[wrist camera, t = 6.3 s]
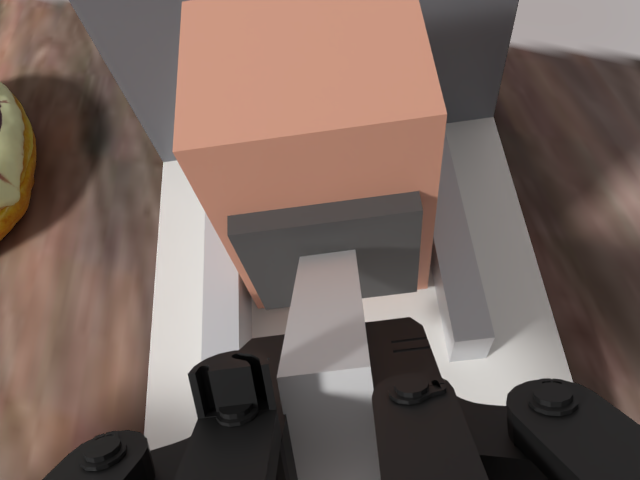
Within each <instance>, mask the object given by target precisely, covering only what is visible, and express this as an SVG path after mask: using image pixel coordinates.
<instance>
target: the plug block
mask: <svg viewBox="0 0 640 480" xmlns="http://www.w3.org/2000/svg"><path fill="white" fill-rule="evenodd" d="M446 120H447V111H446V107H445V103H444V99H443V95H442V91H441V87H440V83H439V79H438V75H437V71H436V67H435V63H434V59H433V55H432V51H431V47H430V43H429V39H428V35H427V31H426V27H425V23H424V19H423V15H422V11H421V7H420V3H419V0H189V1H183V2H182V6H181V22H180V39H179V55H178V71H177V87H176V103H175V119H174V135H173V151H172V152H173V154H174V156H175V158H176V159H177V161H178V163H179V165H180V167H181V169H182V170H183V172H184V174H185V176H186V178H187V180H188V181H189V183H190V185H191V187H192V189H193V191H194V192H195V194H196V196H197V198H198V200H199V202H200V203H201V205H202V207H203V209H204V211H205V212H206V214H207V216H208V218H209V220H210V222H211V223H212V225H213V227H214V229H215V231H216V233H217V234H218V236H219V238H220V240H221V242H222V244H223V245H224V247H225V249H226V251H227V253H228V255H229V256H230V258H231V260H232V262H233V264H234V265H235V267H236V269H237V271H238V273H239V275H240V276H241V278H242V280H243V282H244V284H245V286H246V287H247V289H248V291H249V293H250V295H251V297H252V298H253V300H254V302H255V304H256V306H257V308H258V309H260V308H265V309H266V310H269V309H278V308H286V307H290V305H291V300H292V294H293V289H294V284H295V279H296V273H297V268H298V263H299V258H300V257H302V256H309V255H317V254H324V253H332V252H339V251H347V250H354V249H355V251H356V259H357V266H358V274H359V281H360V288H361V296H362V298H370V297H378V296H387V295H395V294H403V293H412V292H417V290H419V289H427V288H428V279H429V270H430V262H431V253H432V244H433V235H434V226H435V217H436V209H437V200H438V191H439V182H440V173H441V164H442V156H443V147H444V138H445V129H446Z"/></svg>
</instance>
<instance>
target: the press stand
mask: <svg viewBox="0 0 640 480" xmlns="http://www.w3.org/2000/svg"><path fill="white" fill-rule="evenodd" d="M69 1H70V3H71V5H72V7H73V8H74V10H75V12H76V13H77V15H78V17H79V19H80V20H81V22H82V24H83V25H84V27H85V29H86V31H87V32H88V34H89V36H90V37H91V39H92V41H93V42H94V44H95V46H96V48H97V49H98V51H99V53H100V54H101V56H102V58H103V60H104V61H105V63H106V65H107V66H108V68H109V70H110V72H111V73H112V75H113V77H114V78H115V80H116V82H117V84H118V85H119V87H120V89H121V90H122V92H123V94H124V96H125V97H126V99H127V101H128V102H129V104H130V106H131V108H132V109H133V111H134V113H135V114H136V116H137V118H138V120H139V121H140V123H141V125H142V126H143V128H144V130H145V132H146V133H147V135H148V137H149V138H150V140H151V142H152V144H153V145H154V147H155V149H156V150H157V152H158V154H159V156H160V157H161V159H162V161H163V175H162V189H161V203H160V217H159V231H158V245H157V259H156V273H155V287H154V301H153V315H152V329H151V343H150V357H149V371H148V385H147V399H146V414H145V428H144V436H145V437H146V438H147V440H148V444H149V448H150V451H151V450H154V449H157V448H160V447H164V446H167V445H170V444H173V443H176V442H179V441H181V440H184V439H187V438H189V437H191V435H192V432H193V430H194V427H195V425H196V422H197V420H198V417H197V413H196V409H195V404H194V400H193V396H192V391H191V387H190V382H189V378H188V373H189V372H190V370H191V369H192V368H193V367H194V366H195V365H197V364H198V363H200V362H201V361H203V360H205V359H207V358H209V357H212V356H214V355H217V354H219V353H224V352H229V351H234V350H240V349H241V348H242V347H243V346H244V345H245V344H246V343H247V342H248V341H249V340H251V339H252V338H259V337H267V336H275V335H283V334H285V331H286V326H287V321H288V315H289V310H290V307H286V308H278V309H269V310H266V309H265V308H260V309H258V308H257V306H256V304H255V302H254V300H253V298H252V297H251V295H250V293H249V291H248V289H247V287H246V286H245V284H244V282H243V280H242V278H241V276H240V275H239V273H238V271H237V269H236V267H235V265H234V264H233V262H232V260H231V258H230V256H229V255H228V253H227V251H226V249H225V247H224V245H223V244H222V242H221V240H220V238H219V236H218V234H217V233H216V231H215V229H214V227H213V225H212V223H211V222H210V220H209V218H208V216H207V214H206V212H205V211H204V209H203V207H202V205H201V203H200V202H199V200H198V198H197V196H196V194H195V192H194V191H193V189H192V187H191V185H190V183H189V181H188V180H187V178H186V176H185V174H184V172H183V170H182V169H181V167H180V165H179V163H178V161H177V159H176V158H175V156H174V154H173V152H172V151H173V135H174V119H175V103H176V87H177V71H178V55H179V39H180V22H181V6H182V2H183V1H189V0H69ZM518 2H519V0H419V3H420V7H421V11H422V15H423V19H424V23H425V27H426V31H427V35H428V39H429V43H430V47H431V51H432V55H433V59H434V63H435V67H436V71H437V75H438V79H439V83H440V87H441V91H442V95H443V99H444V103H445V107H446V111H447V120H446V129H445V138H444V147H443V156H442V164H441V173H440V182H439V191H438V200H437V209H436V217H435V226H434V235H433V244H432V253H431V262H430V270H429V279H428V288H427V289H419V290H417V292H412V293H403V294H395V295H387V296H378V297H370V298H362V303H363V311H364V318H365V322H373V321H381V320H389V319H397V318H405V317H411V318H412V319H414V320H415V321H417V322H418V323H420V324H421V325H423V327H424V330H425V333H426V336H427V339H428V341H429V344H430V347H431V349H432V352H433V355H434V357H435V360H436V363H437V366H438V368H439V371H440V374H441V377H442V378H443V379H445V380H447V381H448V382H449V383H450V384H451V386H452V387H453V388H454V390H455V393H456V396H458V397H460V398H462V399H464V400H467V401H471V402H474V403H480V404H487V405H499V406H506V400H507V394H508V393H509V392H510V391H511V390H512V389H513V388H514V387H515V386H517V385H519V384H522V383H524V382H527V381H532V380H539V379H543V378H551V379H553V378H554V379H562V380H565V381H569V382H573V380H572V377H571V374H570V370H569V367H568V364H567V360H566V357H565V354H564V350H563V347H562V344H561V340H560V337H559V334H558V330H557V327H556V324H555V320H554V317H553V314H552V310H551V307H550V304H549V300H548V297H547V294H546V290H545V287H544V284H543V280H542V277H541V274H540V270H539V267H538V264H537V260H536V257H535V254H534V250H533V247H532V244H531V240H530V237H529V234H528V230H527V227H526V224H525V220H524V217H523V214H522V210H521V207H520V204H519V200H518V197H517V194H516V190H515V187H514V184H513V180H512V177H511V174H510V170H509V167H508V164H507V160H506V157H505V154H504V150H503V147H502V144H501V140H500V137H499V134H498V130H497V127H496V124H495V120H494V112H495V108H496V103H497V98H498V94H499V89H500V85H501V80H502V75H503V71H504V66H505V62H506V57H507V53H508V48H509V43H510V38H511V34H512V30H513V25H514V20H515V16H516V11H517V7H518Z"/></svg>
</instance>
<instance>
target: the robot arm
mask: <svg viewBox="0 0 640 480" xmlns="http://www.w3.org/2000/svg"><path fill="white" fill-rule="evenodd" d="M188 378H189V382H190V387H191V391H192V396H193V400H194V404H195V409H196V413H197V417H198V420H197V422H196V425H195V427H194V430H193V432H192V435H191V437H189V438H187V439H184V440H181V441H179V442H176V443H173V444H170V445H167V446H164V447H160V448H157V449H154V450H151V451H150V448H149V444H148V440H147V438H146V437H145V436H144V435H143V434H141V433H140V432H135V431H130V430H125V431H112V432H107V433H106V434H101V435H98V436H96V437H94V438H93V439H91V440H89V441H87V442H85V443H83V444H81V445H80V446H79V447H77V448H76V449H75V450H73V451H72V452H71V453H69V454H68V455H67V456H66V457H65V458H64V459H63V460H62V461H61V462H60V463H59V464H58V465H57V466H56V467H55V468H54V469H53V470H52V471H51V472H50V473H49V474H48V475H47V476H46V477H45V478H43V479H42V480H640V425H639V424H637V423H636V422H635V421H633V420H632V419H631V418H629V417H628V416H626V415H625V414H624V413H622V412H621V411H620V410H618V409H617V408H615V407H614V406H613V405H611V404H610V403H608V402H607V401H606V400H604V399H603V398H602V397H600V396H599V395H597V394H596V393H595V392H593V391H592V390H590V389H588V388H586V387H584V386H582V385H580V384H577V383H573V382H569V381H565V380H562V379H554V378H553V379H551V378H543V379H539V380H532V381H527V382H524V383H522V384H519V385H517V386H515V387H514V388H513V389H512V390H511V391H510V392H509V393H508V394H507V400H506V406H499V405H487V404H480V403H474V402H471V401H467V400H464V399H462V398H460V397H458V396H456V393H455V390H454V388H453V387H452V386H451V384H450V383H449V382H448V381H447V380H445V379H443V378H442V377H441V374H440V371H439V368H438V366H437V363H436V360H435V357H434V355H433V352H432V349H431V347H430V344H429V341H428V339H427V336H426V333H425V330H424V327H423V325H421V324H420V323H418V322H417V321H415V320H414V319H412V318H411V317H405V318H397V319H389V320H381V321H373V322H365V318H364V311H363V303H362V296H361V288H360V281H359V274H358V266H357V259H356V251H355V249H354V250H347V251H339V252H332V253H324V254H317V255H309V256H302V257H300V258H299V263H298V268H297V273H296V279H295V284H294V289H293V294H292V300H291V305H290V310H289V315H288V321H287V326H286V331H285V334H283V335H275V336H267V337H259V338H252V339H251V340H249V341H248V342H247V343H246V344H245V345H244V346H243V347H242V348H241V349H240V350H234V351H229V352H224V353H219V354H217V355H214V356H212V357H209V358H207V359H205V360H203V361H201V362H200V363H198V364H197V365H195V366H194V367H193V368H192V369H191V370H190V372H189V373H188Z"/></svg>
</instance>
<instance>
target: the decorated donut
mask: <svg viewBox="0 0 640 480" xmlns="http://www.w3.org/2000/svg"><path fill="white" fill-rule="evenodd" d="M35 168H36V138H35V135H34V132H33V129H32V127H31V123H30V121H29V120H28V117H27V116H26V114H25V111H24V109H23V107H22V104H21V103H20V102H19V101H18V99H17V98H16V97H15V96H14V95H13V94H12V93H11V92H10V90H9V89H8V88H7V87H6V86H5V85H4V84H2V83H1V82H0V241H1V240H2V239H3V238H4V236H5V235H7V234H8V233H9V232H10V231H11V230H12V228H13V227H14V225H15V224H16V223H17V222H18V221H19V220H20V219H21V218H22V217H23V215H24V214H25V212H26V210H27V208H28V206H29V200H30V197H31V189H32V187H33V185H34V172H35Z"/></svg>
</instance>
